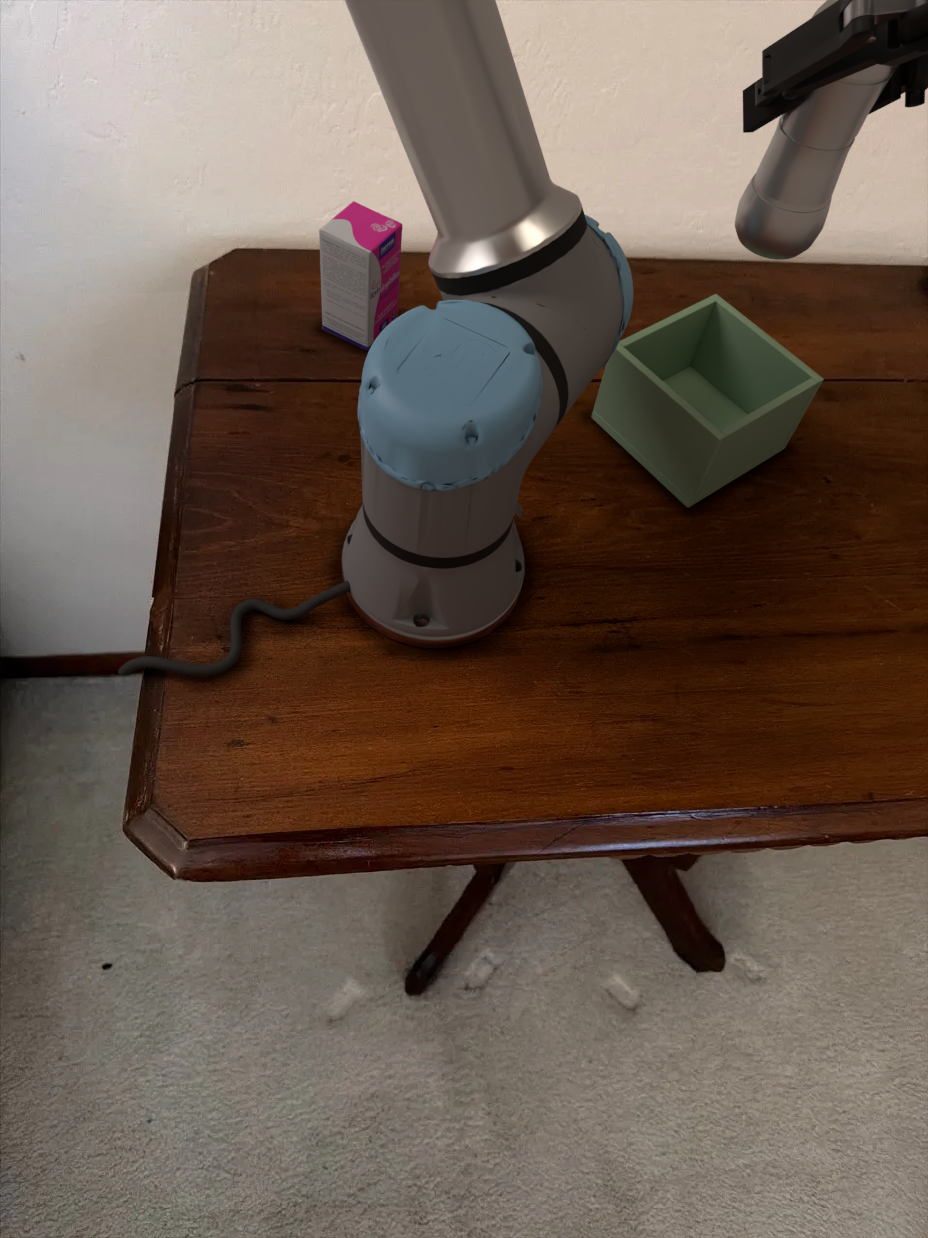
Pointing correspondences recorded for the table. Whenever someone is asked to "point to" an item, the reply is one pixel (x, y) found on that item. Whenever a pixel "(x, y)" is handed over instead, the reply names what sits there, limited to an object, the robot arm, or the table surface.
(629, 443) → the green open box
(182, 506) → the table surface
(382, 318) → the supplement box
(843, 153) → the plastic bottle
